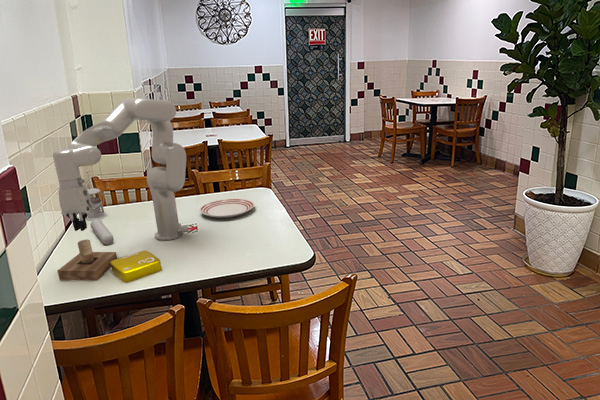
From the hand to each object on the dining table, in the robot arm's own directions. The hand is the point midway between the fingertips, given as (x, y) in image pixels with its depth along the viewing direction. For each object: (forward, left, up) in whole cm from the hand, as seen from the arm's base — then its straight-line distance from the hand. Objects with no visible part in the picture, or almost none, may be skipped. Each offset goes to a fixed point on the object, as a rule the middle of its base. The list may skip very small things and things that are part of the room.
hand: (80, 229), depth 176 cm
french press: (+29, -59, -17) cm, 68 cm away
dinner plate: (-38, -64, -18) cm, 76 cm away
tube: (+12, -33, -18) cm, 39 cm away
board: (0, 0, -17) cm, 17 cm away
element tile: (-19, 0, -18) cm, 26 cm away
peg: (0, 0, -17) cm, 17 cm away
